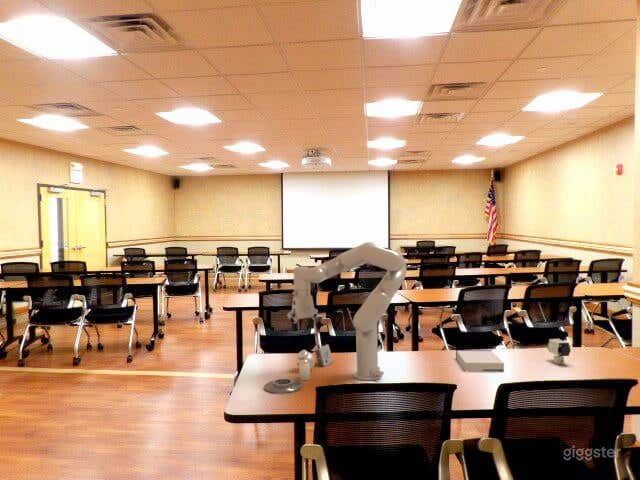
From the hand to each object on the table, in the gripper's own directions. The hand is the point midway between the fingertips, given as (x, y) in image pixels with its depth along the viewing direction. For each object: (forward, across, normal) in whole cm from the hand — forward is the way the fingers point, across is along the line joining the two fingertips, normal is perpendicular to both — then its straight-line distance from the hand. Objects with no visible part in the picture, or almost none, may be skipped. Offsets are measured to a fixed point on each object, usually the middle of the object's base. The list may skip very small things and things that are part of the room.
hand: (303, 329), depth 221 cm
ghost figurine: (+21, +4, +4) cm, 22 cm away
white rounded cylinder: (+21, -4, -6) cm, 22 cm away
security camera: (+21, +99, -72) cm, 124 cm away
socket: (+21, -18, -9) cm, 29 cm away
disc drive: (+22, +70, -48) cm, 87 cm away
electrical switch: (+21, +17, +6) cm, 28 cm away
